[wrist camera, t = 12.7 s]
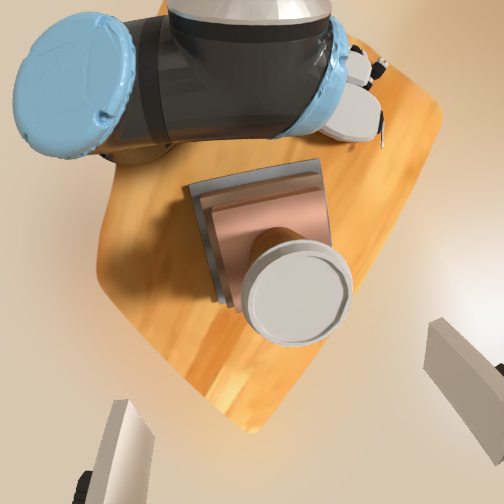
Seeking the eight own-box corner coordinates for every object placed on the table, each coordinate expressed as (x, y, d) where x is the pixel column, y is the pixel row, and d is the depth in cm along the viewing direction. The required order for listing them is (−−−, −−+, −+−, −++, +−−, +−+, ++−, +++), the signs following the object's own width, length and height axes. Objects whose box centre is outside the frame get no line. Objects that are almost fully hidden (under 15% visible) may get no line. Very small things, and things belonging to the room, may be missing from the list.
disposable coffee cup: (277, 306, 38) (298, 368, 26) (217, 256, 35) (215, 308, 24) (334, 250, 36) (378, 295, 25) (277, 194, 33) (305, 217, 22)
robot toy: (308, 39, 37) (291, 131, 40) (318, 27, 33) (300, 126, 36) (382, 65, 39) (370, 153, 42) (397, 57, 35) (385, 151, 38)
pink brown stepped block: (189, 184, 42) (180, 194, 32) (317, 158, 42) (342, 161, 33) (219, 300, 48) (219, 335, 38) (332, 274, 48) (356, 303, 39)
